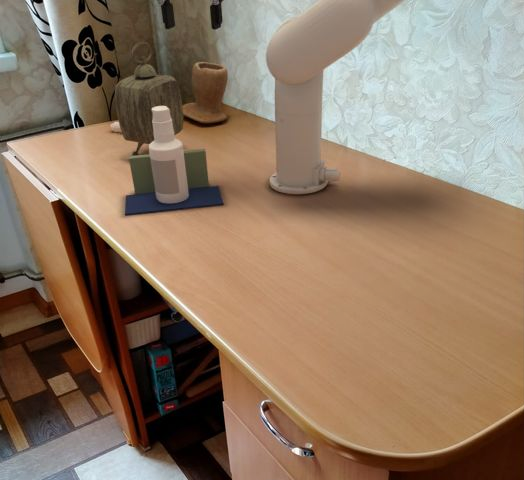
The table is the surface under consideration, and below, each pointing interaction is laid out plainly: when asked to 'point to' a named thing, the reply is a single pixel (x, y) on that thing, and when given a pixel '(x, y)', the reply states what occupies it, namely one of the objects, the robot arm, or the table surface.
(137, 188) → the backboard
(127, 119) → the tabletop clock
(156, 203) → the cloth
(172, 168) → the white capped bottle
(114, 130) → the sitting furry creature
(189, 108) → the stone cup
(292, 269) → the table surface
